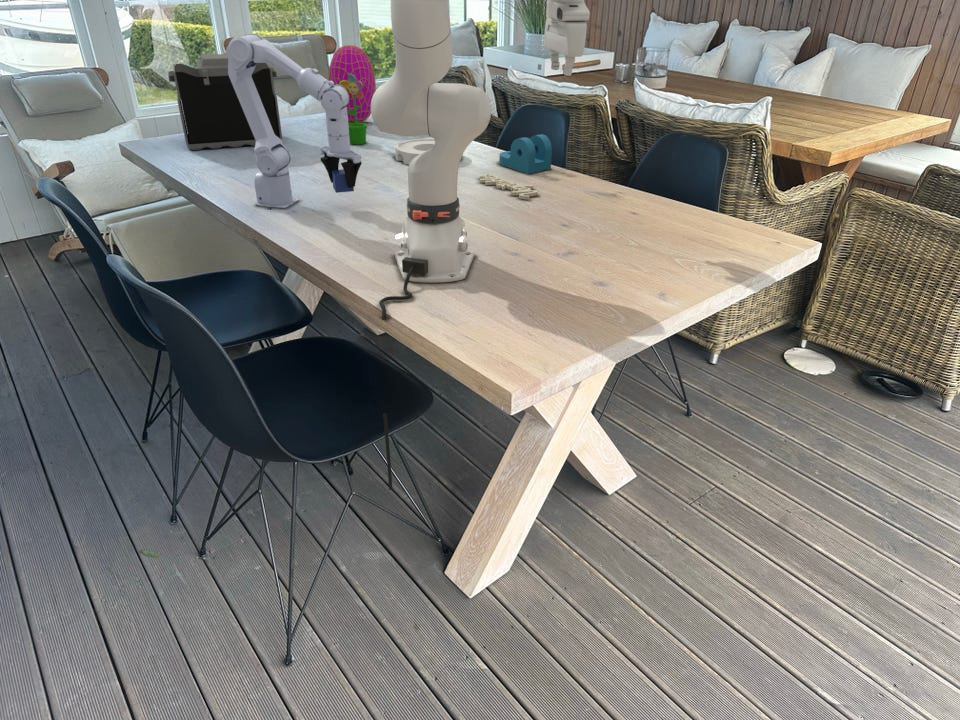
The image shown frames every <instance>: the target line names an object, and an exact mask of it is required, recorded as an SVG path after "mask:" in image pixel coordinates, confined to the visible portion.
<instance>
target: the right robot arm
mask: <svg viewBox="0 0 960 720" xmlns="http://www.w3.org/2000/svg"><path fill="white" fill-rule="evenodd" d="M590 15H591V12H590V10H589V8H588V7H587V5H586V2H585V0H546V13H545V17H546V20H545V24H544V33H543V34H544V35H543V45H544V48H545V49H547V50H549V57H550V69H551V70H553V71H559V70H560V65H561V64H560V58H559V57H560V56H559V55H563V56H564V61H565V62H564V66H563V67H562V68H563V69H562V74H563V75H564V76H567V77H568V76H569V77H570V76H572V74H573V67H574V65H575V62H576V58H579V57H580V58H581V57H582V56H583V54H584V52H585V47H586V39H587V32H588V31H587V30H588V25H587V22H588V21H590ZM390 21H391V31H392V36H393V37H392V38H393V43H394V44H393V45H394V54H395V67H394V70H393V73H392V74H391V76H390V77H389V78H388V79H387V80H386V82H384V83H382V84H381V85H379V86H378V87H377V88H376V91H375V93H374V95H373V97H372V100H371V114H370V116H371V119H372V121H373V124H374V125H375V126H376V128H377V129H378V130H379V131H380V132H383V133H385V134H389V135H393V136H398V137H413V138H430V139H435V145H434V147H433V148H431V149H430V150H428V151H425V152H423V153H421V154H419V155H418V156H416V157H415V158H414V159H412V161H411V162H410V164H409V165H408V168H407V184H408V186H407V187H408V198H407V199H406V211H407V213H406V214H407V217H406V218H405V219H404V220H403V221H402V223H401V231H402V232H400V233H398V234H396V235H395V239H396V240H398V239H401V238H402V242H401V244H400V247H401V249H400V250H397V251H395V252H394V259H395V262H396V264H397V267H398V269H399V272H400V274H401V277H402V279H403V280H404V283H403V289H402V290H403V292H404V294H406V295H401V296H400V295H393V296H385V297H383V298H382V299H380V300H379V301H378V304H379V307H380V308H381V320H382V321H385V320H387V308H386V306H385V304H384V303H385V302H387V301H406V300H410V299H411V298H412V297H413V293H412V292H411V291H409V290H408V285H409V282H414V283H431V284H433V283H435V284H437V283H451V282H457V281H461V280H464V279H466V277H467V274H468V273H469V269H470V267H471V265H472V262H473V260H474V257H475V251H473V250H471V249H468V245H469V243H468V242H467V241H466V238H467V236H468V232H467V231H466V221H465V220H464V219H463V218H461V216H460V208H461V207H460V206H461V205H460V198H459V197H458V178H459V177H458V176H459V167H460V163H461V160H462V157H463V155H464V153H465V151H466V149H468V147H469V146H470V144H472V143H473V141H474V140H476V139H477V138H478V137H479V136H481V135H482V134H483V133H484V132H485V130H486V129H487V128H488V125H489V123H490V121H491V117H492V105H491V101H490V98H489V97H488V95H487V93H486V92H485V90H484V89H482V88H481V87H479V86H478V87H477V86H474V85H469V84H466V83H456V82H455V83H453V82H451V83H450V82H440V81H441V80H442V79H444V78H445V76H446V75H447V74H448V73H449V71H450V70H451V67H452V65H453V61H454V59H453V58H454V55H453V42H452V28H451V18H450V11H449V6H448V1H447V0H390ZM382 417H383V430H384V442H385V453H386V466H387V477H388V490H389V491H392V490H393V477H392V462H391V450H390V449H391V448H390V436H389V425H388V413H386V412H385V413H382Z"/></svg>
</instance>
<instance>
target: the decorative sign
mask: <svg viewBox="0 0 960 720" xmlns="http://www.w3.org/2000/svg"><path fill="white" fill-rule="evenodd" d="M479 183H480V184H485V186H495V187H496V189H501V190H503V191H504V190H510V196H515V197H516V196H518V199H521V200H526V201H527V200H530V197H537V196H538V193H539V191H538V190H535V189H534V185H533V184H519V183H515V182H513V181H510V180H508V179H504V178H501V177H500V176H497V175H493V174H491V173H485V174H484V175H482V174H479Z"/></svg>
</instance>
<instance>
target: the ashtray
mask: <svg viewBox="0 0 960 720" xmlns="http://www.w3.org/2000/svg"><path fill="white" fill-rule="evenodd" d="M434 145H435V139H434V138H416V139H415V138H414V139H408V140H404V141H399V142H398V143H396V144H395V146H394V150H395V151H394V152H395V153H394V154H395V160H396V161H397V162H403V164H404V165H408V166H409V164H410V162H411V161H412V159H414V158H415V157H416V156H418V155H419V154H421V153H423V152H425V151H428V150H430V149H431V148H433V147H434Z"/></svg>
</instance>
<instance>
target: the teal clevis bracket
mask: <svg viewBox="0 0 960 720" xmlns="http://www.w3.org/2000/svg"><path fill="white" fill-rule="evenodd" d="M552 146H553V145H552V142H551V140H550V139H549V137H548V136H547V135H546V134H542V133H541V134H535V135H532V136H531V137H530V138H529V137H525V136H524V137H520V138H515V139H514V140H513V141H512V143H511V145H510V150H506V151H502V152H500V153H499V156H498V157H499V159H498V161H499V165H500V166H503V167H506V168H509V169H511V170H515V171H518V172H520V173H524V174H527V175H529V174H534V173H538V172H539V173H540V172H544V171H548V170H551V169H552V156H553V147H552Z"/></svg>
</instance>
